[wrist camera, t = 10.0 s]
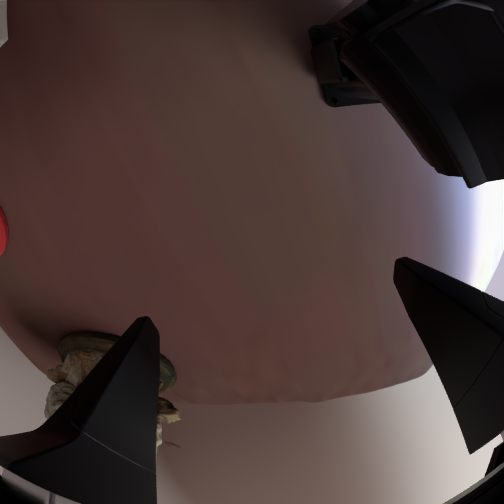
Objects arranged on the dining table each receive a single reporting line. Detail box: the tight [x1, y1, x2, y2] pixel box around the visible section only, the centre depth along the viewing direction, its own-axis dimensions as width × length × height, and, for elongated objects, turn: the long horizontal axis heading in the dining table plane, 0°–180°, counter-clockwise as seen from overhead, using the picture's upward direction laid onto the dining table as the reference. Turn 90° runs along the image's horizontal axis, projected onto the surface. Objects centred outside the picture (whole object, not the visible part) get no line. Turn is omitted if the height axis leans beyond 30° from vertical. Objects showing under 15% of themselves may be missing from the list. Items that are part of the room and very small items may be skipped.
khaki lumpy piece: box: [44, 332, 181, 461], centre depth 23 cm, size 18×12×17 cm, turn 85°
